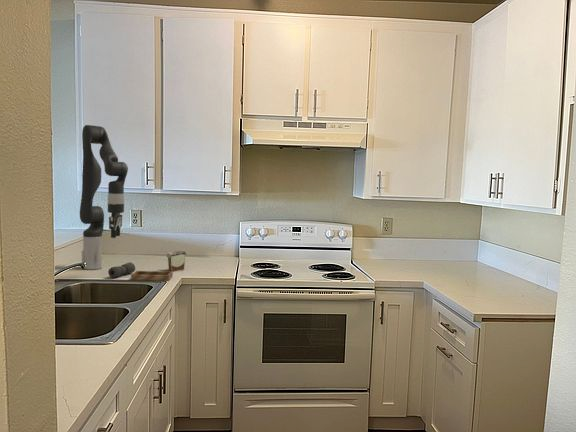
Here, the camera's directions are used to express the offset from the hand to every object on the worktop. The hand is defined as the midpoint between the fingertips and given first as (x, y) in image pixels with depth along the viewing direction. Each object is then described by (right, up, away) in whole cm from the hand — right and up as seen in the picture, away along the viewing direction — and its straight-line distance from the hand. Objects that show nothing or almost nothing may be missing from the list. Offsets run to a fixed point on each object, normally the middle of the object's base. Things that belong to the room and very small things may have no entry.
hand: (115, 236), depth 231 cm
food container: (+23, -19, +24) cm, 39 cm away
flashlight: (-1, -22, +1) cm, 22 cm away
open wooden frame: (+17, -21, +3) cm, 27 cm away
